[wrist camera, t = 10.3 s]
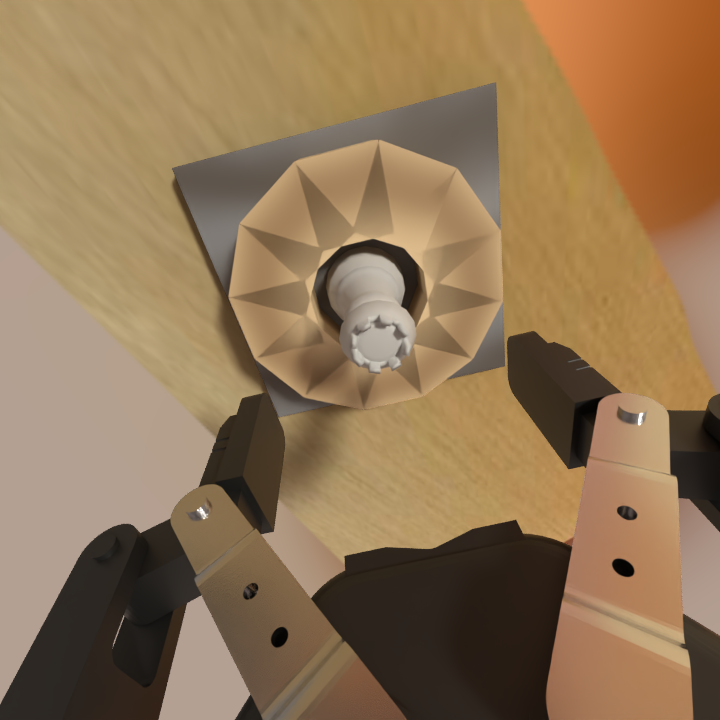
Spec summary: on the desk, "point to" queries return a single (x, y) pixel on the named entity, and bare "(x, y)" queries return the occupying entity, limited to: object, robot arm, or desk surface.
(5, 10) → the desk surface
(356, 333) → the rook chess piece
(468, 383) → the desk surface
